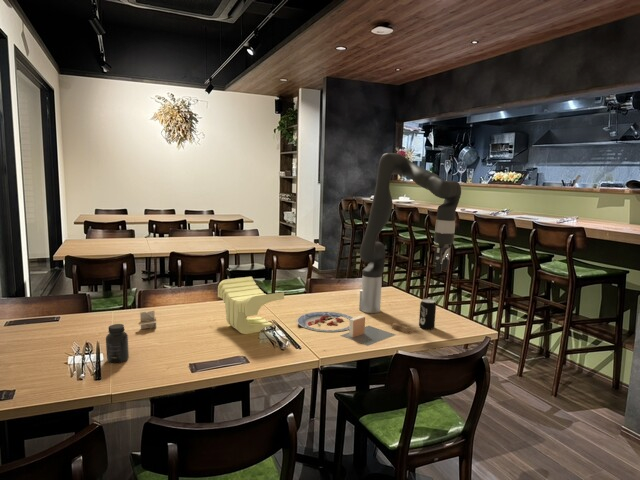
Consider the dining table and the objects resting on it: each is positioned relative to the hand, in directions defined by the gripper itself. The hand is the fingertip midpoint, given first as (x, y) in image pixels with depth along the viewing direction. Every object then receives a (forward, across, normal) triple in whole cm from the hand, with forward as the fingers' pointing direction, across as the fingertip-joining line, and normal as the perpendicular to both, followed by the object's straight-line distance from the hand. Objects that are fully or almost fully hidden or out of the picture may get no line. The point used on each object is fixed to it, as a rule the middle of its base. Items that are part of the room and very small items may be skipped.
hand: (441, 271), depth 183 cm
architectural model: (+29, +63, -100) cm, 121 cm away
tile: (+26, +23, -25) cm, 43 cm away
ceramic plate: (+28, +16, -43) cm, 54 cm away
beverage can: (+27, -7, -6) cm, 29 cm away
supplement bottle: (+28, +89, -82) cm, 124 cm away
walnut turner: (+27, +6, -16) cm, 32 cm away
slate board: (+27, +20, -21) cm, 40 cm away
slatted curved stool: (+28, +38, -68) cm, 82 cm away
